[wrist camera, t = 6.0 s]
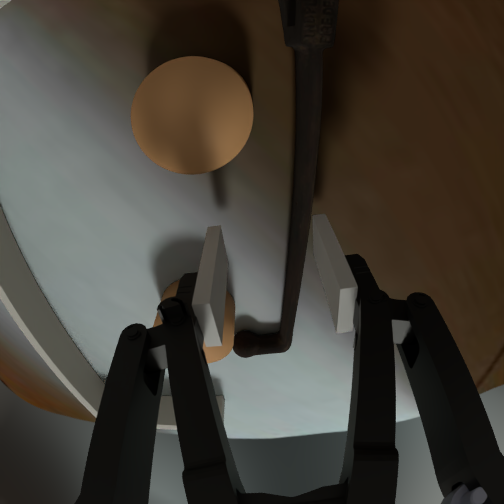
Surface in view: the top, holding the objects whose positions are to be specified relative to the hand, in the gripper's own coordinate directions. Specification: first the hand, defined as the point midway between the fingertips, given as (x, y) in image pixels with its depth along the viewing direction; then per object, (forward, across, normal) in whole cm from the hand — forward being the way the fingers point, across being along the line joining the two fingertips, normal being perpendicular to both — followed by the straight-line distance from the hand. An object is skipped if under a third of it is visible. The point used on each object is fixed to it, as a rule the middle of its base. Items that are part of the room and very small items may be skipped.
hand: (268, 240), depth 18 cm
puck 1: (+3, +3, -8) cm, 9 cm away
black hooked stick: (+3, 0, -3) cm, 4 cm away
